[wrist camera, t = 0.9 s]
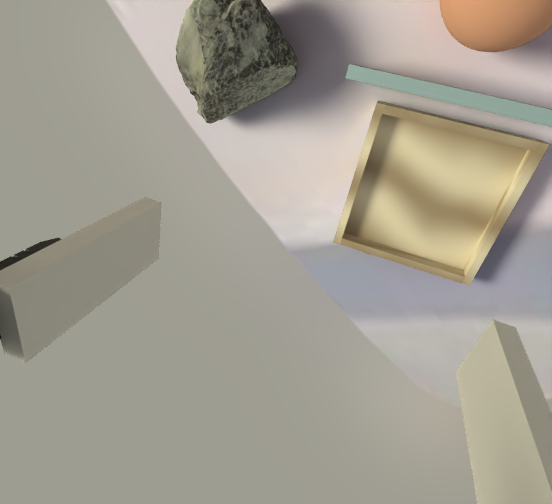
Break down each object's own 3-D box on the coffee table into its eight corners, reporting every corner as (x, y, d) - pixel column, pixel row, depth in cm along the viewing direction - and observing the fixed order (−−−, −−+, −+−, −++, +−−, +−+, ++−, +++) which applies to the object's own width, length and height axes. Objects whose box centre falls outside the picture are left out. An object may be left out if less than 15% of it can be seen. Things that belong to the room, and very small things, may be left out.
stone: (219, 133, 26) (191, -36, 22) (177, 127, 34) (150, 2, 30) (321, 114, 31) (314, -31, 26) (263, 112, 39) (250, 1, 34)
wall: (355, 65, 31) (349, 64, 27) (568, 113, 28) (591, 118, 24) (351, 77, 31) (345, 78, 28) (560, 126, 28) (582, 133, 25)
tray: (378, 101, 31) (376, 102, 30) (540, 140, 29) (549, 144, 27) (336, 234, 38) (333, 242, 36) (466, 275, 36) (469, 285, 34)
